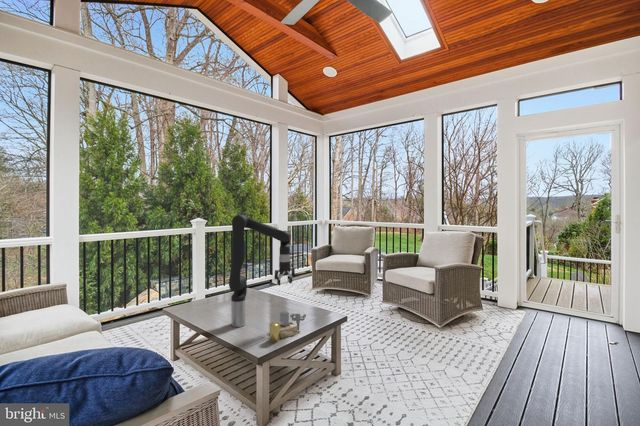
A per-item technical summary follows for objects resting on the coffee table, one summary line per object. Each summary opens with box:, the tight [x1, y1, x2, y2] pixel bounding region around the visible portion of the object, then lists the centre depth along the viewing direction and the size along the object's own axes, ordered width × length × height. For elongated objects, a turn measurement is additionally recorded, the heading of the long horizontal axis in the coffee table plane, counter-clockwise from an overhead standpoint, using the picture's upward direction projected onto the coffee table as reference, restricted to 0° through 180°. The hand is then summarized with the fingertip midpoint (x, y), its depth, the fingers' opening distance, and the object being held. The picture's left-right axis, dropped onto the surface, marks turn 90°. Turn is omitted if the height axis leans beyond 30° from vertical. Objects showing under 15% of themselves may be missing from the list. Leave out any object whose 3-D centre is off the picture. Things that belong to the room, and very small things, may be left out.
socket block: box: [278, 320, 298, 340], centre depth 203 cm, size 12×12×5 cm
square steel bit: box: [279, 311, 290, 327], centre depth 203 cm, size 4×4×12 cm
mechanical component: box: [289, 313, 307, 331], centre depth 209 cm, size 3×10×10 cm, turn 94°
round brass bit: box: [269, 321, 281, 343], centre depth 193 cm, size 6×6×10 cm
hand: (284, 284), depth 215 cm, fingers open, 8 cm apart
